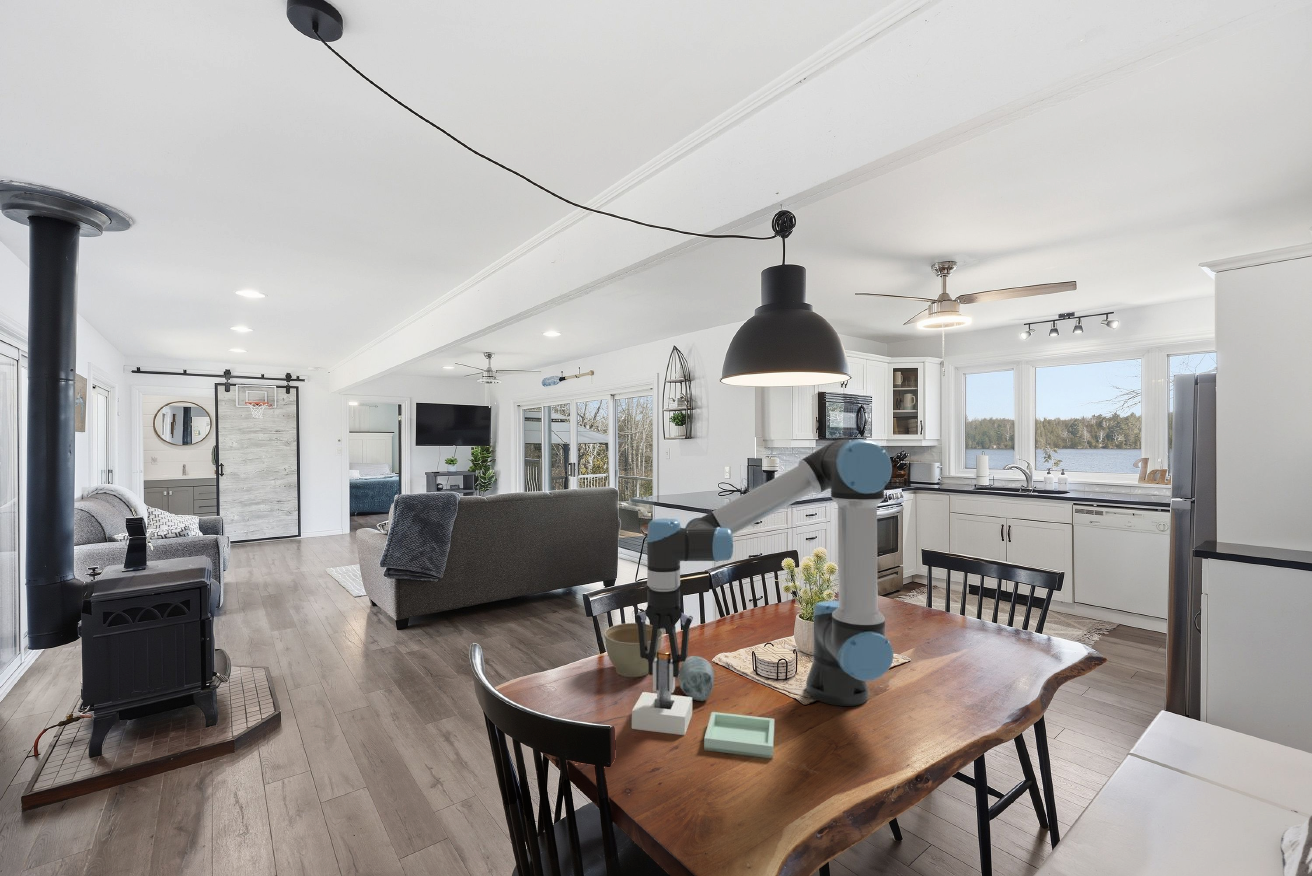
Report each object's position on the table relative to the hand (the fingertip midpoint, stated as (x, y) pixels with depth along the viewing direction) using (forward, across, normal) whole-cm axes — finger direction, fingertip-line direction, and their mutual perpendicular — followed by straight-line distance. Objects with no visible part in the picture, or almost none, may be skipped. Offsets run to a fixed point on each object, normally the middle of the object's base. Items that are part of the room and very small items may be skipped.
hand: (663, 689), depth 135 cm
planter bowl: (+7, +14, -26) cm, 31 cm away
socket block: (+7, 0, 0) cm, 7 cm away
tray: (+7, -18, +4) cm, 20 cm away
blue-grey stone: (+8, -5, -17) cm, 19 cm away
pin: (+6, 0, 0) cm, 6 cm away
